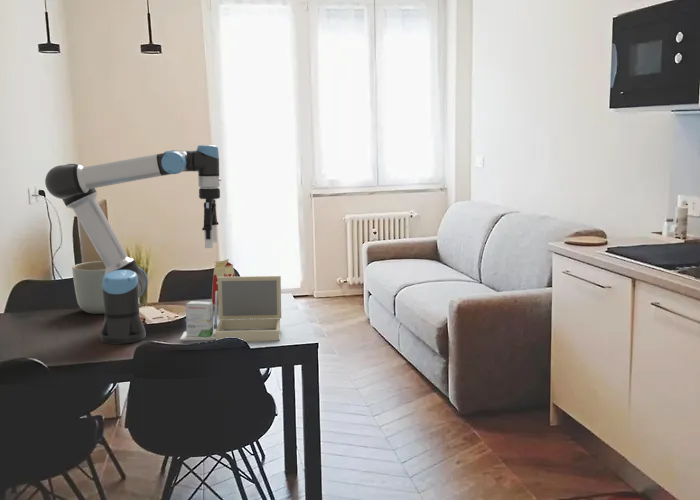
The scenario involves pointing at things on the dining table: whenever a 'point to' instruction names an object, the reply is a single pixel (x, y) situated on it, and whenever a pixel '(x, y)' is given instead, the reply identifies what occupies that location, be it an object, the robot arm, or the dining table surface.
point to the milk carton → (221, 275)
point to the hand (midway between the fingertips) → (211, 245)
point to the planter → (89, 286)
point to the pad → (197, 337)
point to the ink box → (199, 318)
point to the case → (248, 307)
